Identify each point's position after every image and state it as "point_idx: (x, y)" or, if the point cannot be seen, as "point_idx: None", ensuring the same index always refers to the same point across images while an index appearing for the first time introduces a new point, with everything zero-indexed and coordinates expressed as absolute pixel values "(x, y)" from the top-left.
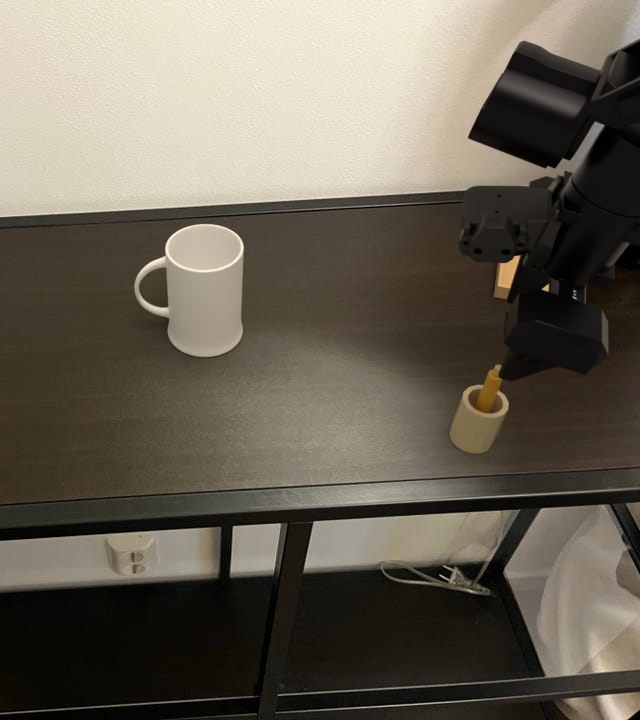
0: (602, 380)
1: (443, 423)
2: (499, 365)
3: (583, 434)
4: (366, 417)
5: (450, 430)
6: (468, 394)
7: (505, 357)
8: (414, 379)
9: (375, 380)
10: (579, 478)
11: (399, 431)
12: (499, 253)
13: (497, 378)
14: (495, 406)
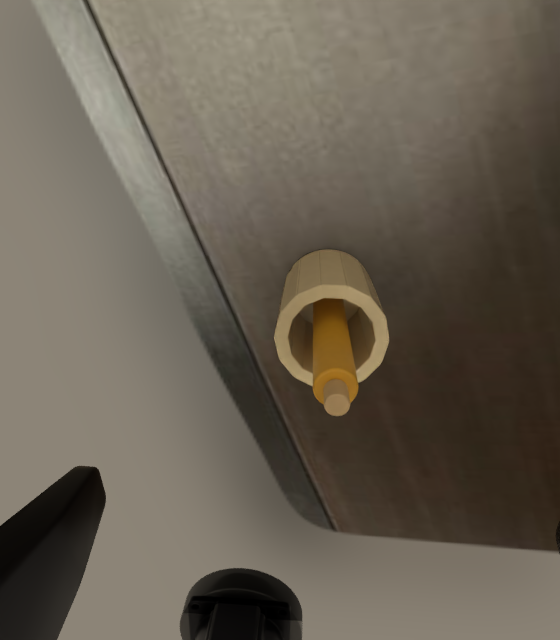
0: (542, 511)
1: (352, 234)
2: (347, 406)
3: (392, 476)
4: (321, 45)
5: (322, 252)
6: (342, 298)
7: (8, 556)
8: (483, 151)
9: (461, 45)
10: (287, 465)
11: (299, 138)
12: None
13: (317, 392)
14: (353, 353)
